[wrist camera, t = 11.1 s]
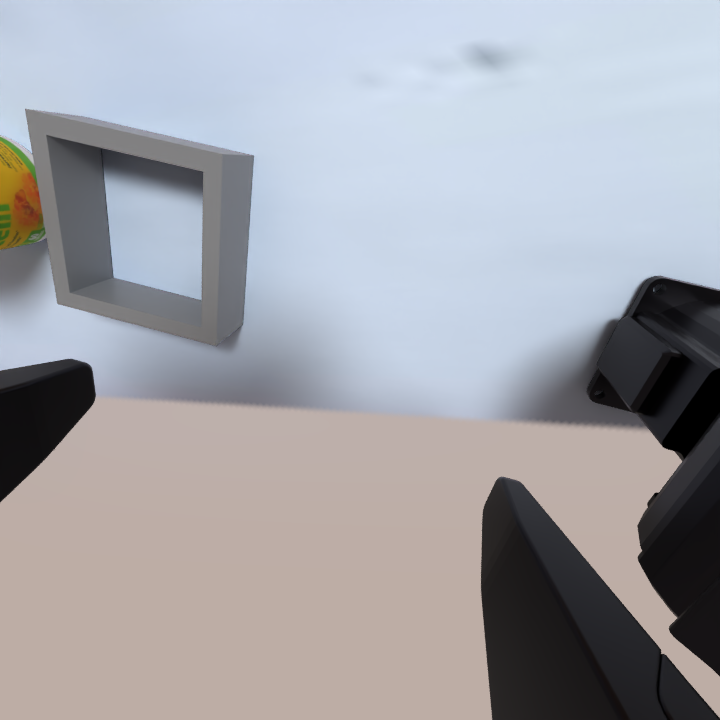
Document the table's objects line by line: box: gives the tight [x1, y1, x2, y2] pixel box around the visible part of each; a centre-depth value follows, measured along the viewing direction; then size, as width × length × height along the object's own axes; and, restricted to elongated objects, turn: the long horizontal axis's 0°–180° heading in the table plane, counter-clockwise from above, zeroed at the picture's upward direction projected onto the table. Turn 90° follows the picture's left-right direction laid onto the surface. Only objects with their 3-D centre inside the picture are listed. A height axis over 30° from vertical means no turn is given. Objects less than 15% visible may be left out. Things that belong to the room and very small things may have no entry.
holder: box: [25, 109, 254, 346], centre depth 19 cm, size 9×9×3 cm
